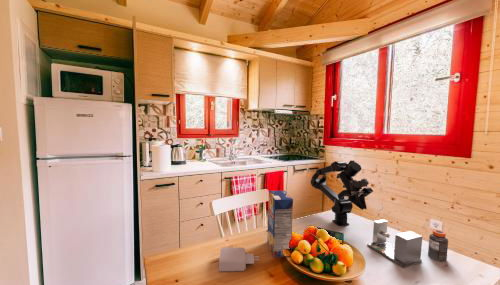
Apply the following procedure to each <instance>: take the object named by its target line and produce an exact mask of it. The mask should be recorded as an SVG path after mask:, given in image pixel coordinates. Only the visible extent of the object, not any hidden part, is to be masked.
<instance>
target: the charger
mask: <svg viewBox="0 0 500 285" xmlns="http://www.w3.org/2000/svg"><path fill="white" fill-rule="evenodd" d="M254 255H255V254H254V253H246V248H244V247H234V246H233V247H232V246H231V247H220V253H219V261H218V271H219V272H244V271H245V270H246V269H247V267H246V266H247V265H254V264H255V261H260V258H259V257H260V256H259V255H256V256H254Z"/></svg>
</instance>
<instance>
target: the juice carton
mask: <svg viewBox="0 0 500 285" xmlns="http://www.w3.org/2000/svg"><path fill="white" fill-rule="evenodd" d="M267 204H268V205H267V206H268V210H267V214H268V215H267V238H266V239H267V240H266V241H267V244H268V247H269V250H270V252H271V255H272V257H273V258H283V257H284V254H283V250H284V249H290V248H289V242H290V240H291V238H292V237H293V235H292V234H293V214H294V211H293V209H294V199H293V197H291V195H290V194H289V193H288V192H287V191H286V190H268V203H267ZM292 239H293V238H292Z"/></svg>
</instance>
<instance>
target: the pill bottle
mask: <svg viewBox="0 0 500 285" xmlns="http://www.w3.org/2000/svg"><path fill="white" fill-rule="evenodd" d="M448 246H449V240H448V237H446V232H445V231H443V230H440V229H433V230H432V233H430V234H429V239H428V249H427V251H428V252H427V255H428V256H429V258H431V259H432V260H435V261H437V262H446V261H447V260H448V248H449V247H448Z"/></svg>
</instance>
